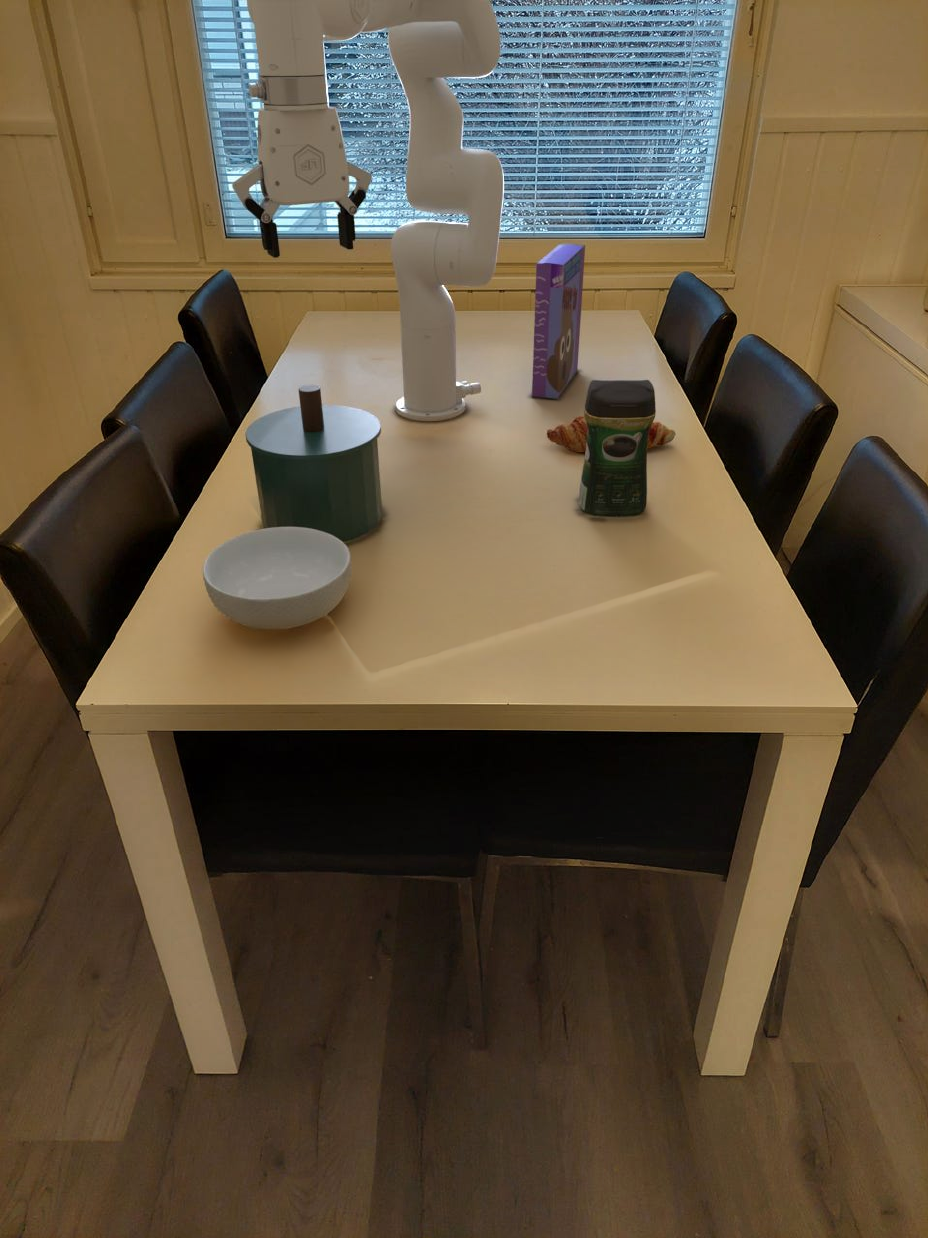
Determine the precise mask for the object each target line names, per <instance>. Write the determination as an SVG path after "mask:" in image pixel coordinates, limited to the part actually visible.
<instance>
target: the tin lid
mask: <svg viewBox="0 0 928 1238" xmlns="http://www.w3.org/2000/svg"><path fill="white" fill-rule="evenodd" d="M321 391H322V390H321V387H320V385H318V384H305V385H301V386H299V387H298V398H299V406H294V407H293V406H292V407H289V408H288V407H287V408H284V409H280V410H277V411H273V412H270V413H268V414H266V415H263V416H261V417H259V418H257V419H256V420H254V421H253V422H252V423H251V424H249V426H248V427H247V429H246V430H245V440H246V444H247V445H248V446H249V447H250V449H251V448H252V449H254V450H255V451H257V452H259V453H262V454H265V455H268V456H272V457H276V458H283V459H294V460H312V459H324V458H331V457H337V456H341V455H345V454H349V453H352V452H355V451H358V450H360V449H363V448H365V447H367V446H368V445H370V444H372V443H373V442H374V441H375V440H376V439H377V440H378V438H379V437H380V435H381V432H382V426H381V422H380V420H379V419H378V417H376V416H375V415H373V413H370V412H369V411H366V410H363V409H360V408H357V407H352V406H348V405H347V406H346V405H338V404H323V402H322V401H323V400H322V392H321Z"/></svg>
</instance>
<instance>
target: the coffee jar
mask: <svg viewBox="0 0 928 1238" xmlns="http://www.w3.org/2000/svg"><path fill="white" fill-rule="evenodd" d="M655 392H656V391H655V387H654V385H653V383H652V382H651V381H650V380H649V379H641V380H639V379H637V380H635V379H634V380H633V379H631V380H626V379H621V380H617V379H616V380H612V379H611V380H602V379H601V380H600V379H599V380H598V379H592V380H590V382H589V384H588V386H587V392H586V397H585V401H584V402H585V403H584V406H583V416H584V417H585V420H586V423H587V444H586V453H585V452H584V453H585V454H584V459H583V466H582V472H581V478H580V484H579V492H578V506H579V508H580V510H581V511H582V512H584V513H585V514H587V515H589V516H594V517H595V516H596V517H609V518H610V517H613V518H617V517H618V518H619V517H620V518H621V517H637V516H639V515H641V514H642V513H644V512H645V510H646V509H647V503H648V502H647V501H648V473H647V472H648V469H647V466H648V465H647V464H648V463H647V462H648V449H647V442H648V433H649V429H650V426H651V425H652V423H654V421H655V418H656V414H657V409H656V394H655Z"/></svg>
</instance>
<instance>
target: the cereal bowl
mask: <svg viewBox="0 0 928 1238" xmlns="http://www.w3.org/2000/svg"><path fill="white" fill-rule="evenodd" d="M351 573H352V557H351V552H350V550H349V548H348V546H347V545H346V544H345V543H344V542H342V541H341V540H339V539H338V538H336V537H335V536H333V535H331V534H328V533H325V532H322V531H319V530H315V529H310V528H302V527H274V528H266V529H264V528H260V529H255V530H251V531H248V532H244V533H241V534H238V535H236V536H234V537H231V538H230V539H228V540H225V541H224V542H222V543H220V544H219V545H217V547H215V548H214V549H213V550H212V551H211V552H210V553H209V554H208V555H207V556H206V558H205V560H204V562H203V566H202V576H203V577H202V578H203V582H204V586H205V591H206V593H207V595H208V597H209V599H210V602H211V603H212V604H213V606H214V607H215V608H216V609H217V610H218V611H219V612H220V613H221V614H222V615H224V616H225V617H226V618H228V619H230V620H231V621H233V622H235V623H236V624H240V625H243V626H245V627H250V628H253V629H259V630H283V629H291V628H297V627H301V626H304V625H308V624H310V623H313V622H314V621H318V620H319V619H321V618H323V617H325V616H326V615H328V614H329V613H331V612H332V611H334V609H335V608H336V607H337V606H338V605H339V604H340V603H341V601H342V600H343V598H344V596H346V593H347V591H348V588H349V586H350V583H351V575H352V574H351Z"/></svg>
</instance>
